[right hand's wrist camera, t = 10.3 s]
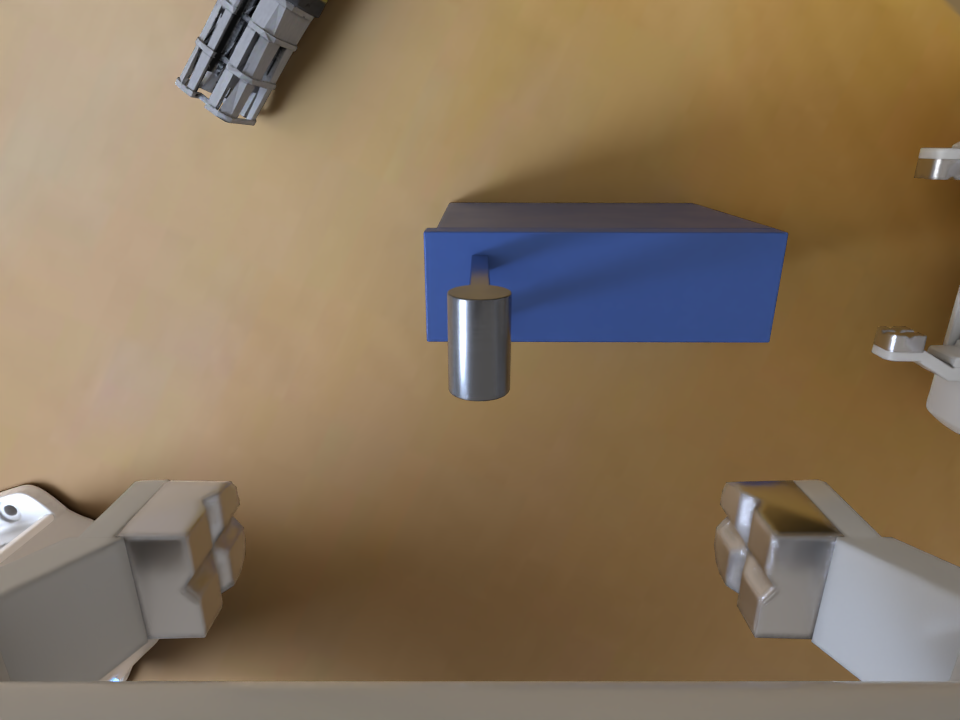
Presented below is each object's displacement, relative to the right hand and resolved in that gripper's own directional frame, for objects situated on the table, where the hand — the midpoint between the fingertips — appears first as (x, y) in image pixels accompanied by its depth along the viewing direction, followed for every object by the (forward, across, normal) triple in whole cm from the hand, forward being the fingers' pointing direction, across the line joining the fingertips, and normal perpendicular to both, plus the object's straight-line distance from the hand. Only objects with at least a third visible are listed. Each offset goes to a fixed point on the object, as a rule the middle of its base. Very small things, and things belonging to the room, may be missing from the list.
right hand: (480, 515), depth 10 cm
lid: (+17, -5, 0) cm, 18 cm away
